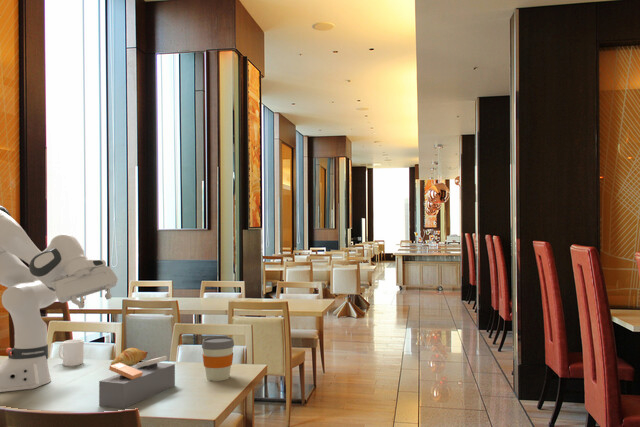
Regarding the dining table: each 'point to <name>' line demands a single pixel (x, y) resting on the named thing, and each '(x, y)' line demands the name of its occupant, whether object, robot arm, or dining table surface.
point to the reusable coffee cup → (217, 357)
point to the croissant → (130, 357)
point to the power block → (136, 385)
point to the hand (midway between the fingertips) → (95, 302)
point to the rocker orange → (125, 371)
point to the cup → (72, 352)
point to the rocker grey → (151, 361)
